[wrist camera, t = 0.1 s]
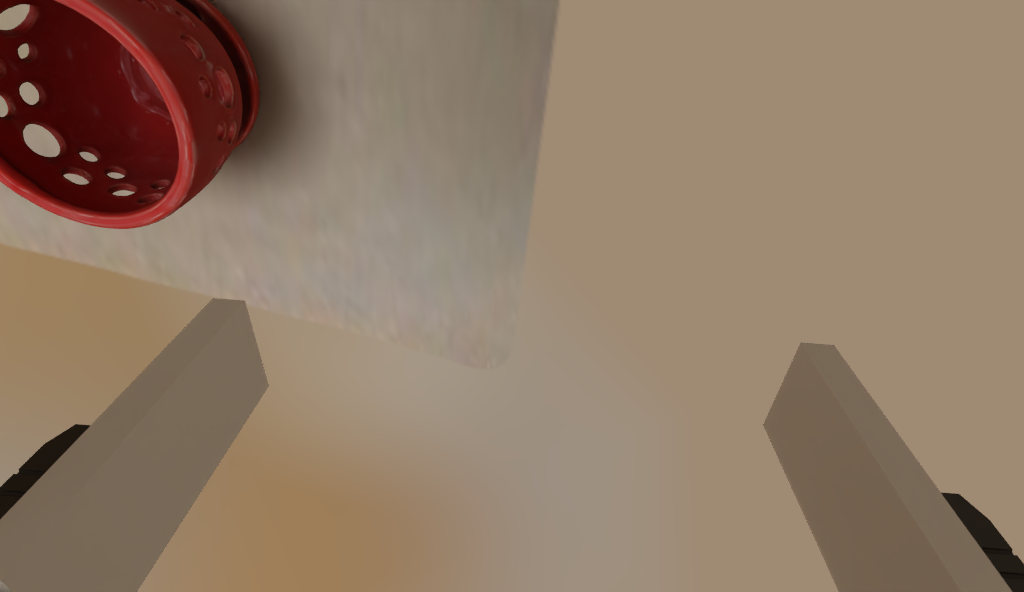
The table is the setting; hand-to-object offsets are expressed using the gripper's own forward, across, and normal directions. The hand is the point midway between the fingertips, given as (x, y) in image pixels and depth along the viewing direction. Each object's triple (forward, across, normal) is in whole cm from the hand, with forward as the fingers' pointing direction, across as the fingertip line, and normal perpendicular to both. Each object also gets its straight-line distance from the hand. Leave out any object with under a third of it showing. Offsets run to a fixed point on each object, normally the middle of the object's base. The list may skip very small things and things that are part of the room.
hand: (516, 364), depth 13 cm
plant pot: (+28, -24, 0) cm, 37 cm away
